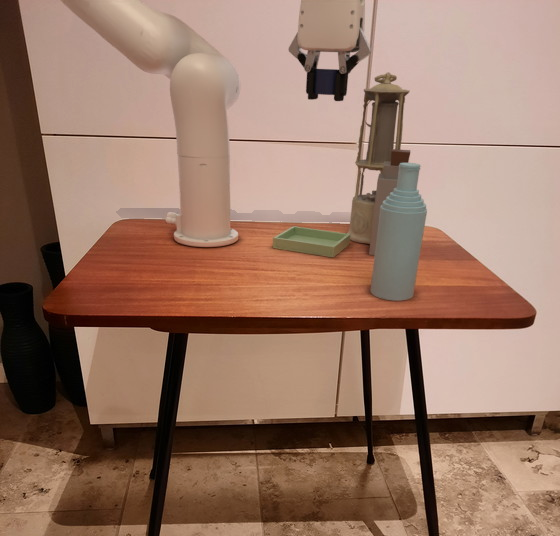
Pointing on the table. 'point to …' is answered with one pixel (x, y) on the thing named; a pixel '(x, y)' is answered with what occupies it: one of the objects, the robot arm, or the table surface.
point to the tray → (312, 241)
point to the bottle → (399, 238)
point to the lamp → (376, 149)
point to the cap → (325, 81)
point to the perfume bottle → (386, 188)
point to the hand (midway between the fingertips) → (325, 98)
